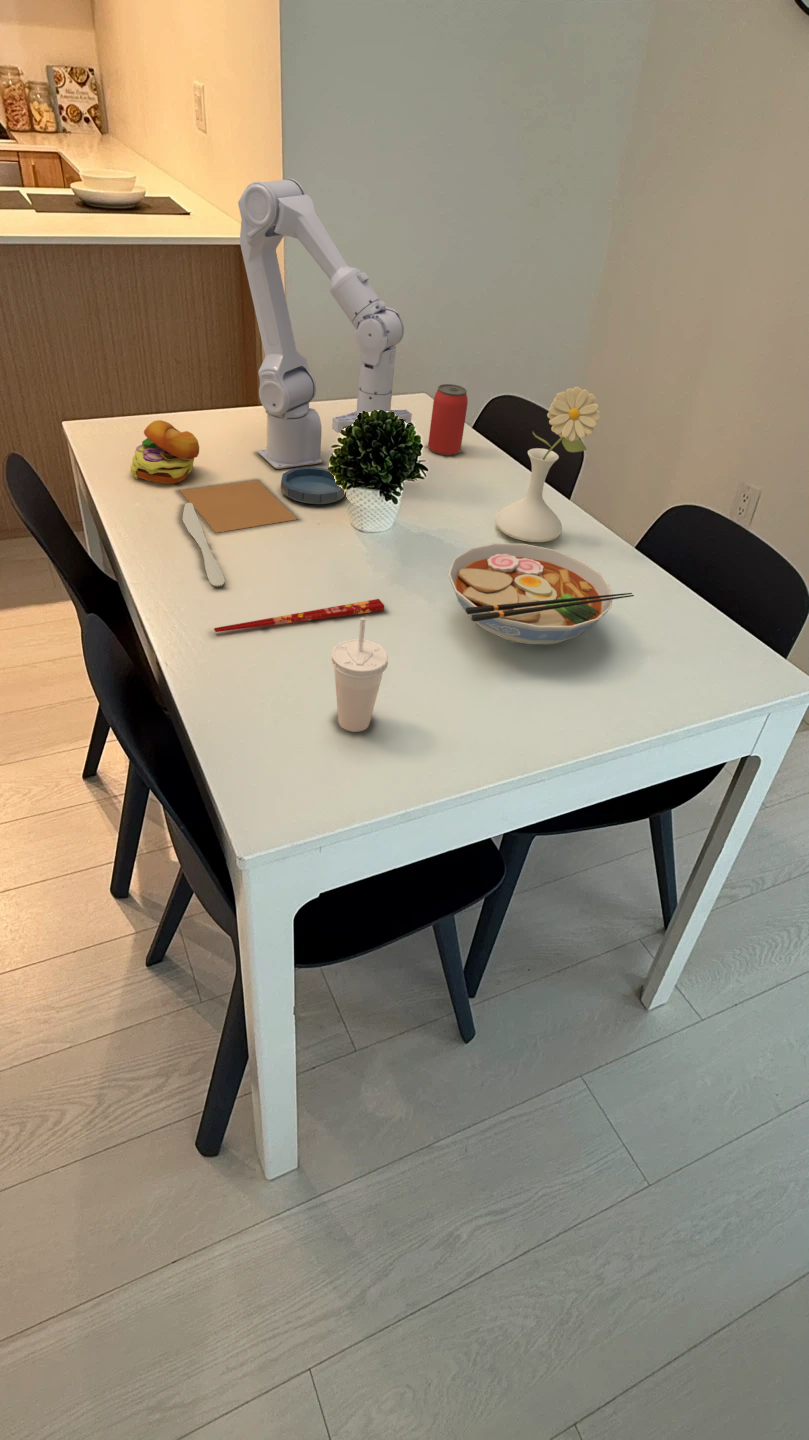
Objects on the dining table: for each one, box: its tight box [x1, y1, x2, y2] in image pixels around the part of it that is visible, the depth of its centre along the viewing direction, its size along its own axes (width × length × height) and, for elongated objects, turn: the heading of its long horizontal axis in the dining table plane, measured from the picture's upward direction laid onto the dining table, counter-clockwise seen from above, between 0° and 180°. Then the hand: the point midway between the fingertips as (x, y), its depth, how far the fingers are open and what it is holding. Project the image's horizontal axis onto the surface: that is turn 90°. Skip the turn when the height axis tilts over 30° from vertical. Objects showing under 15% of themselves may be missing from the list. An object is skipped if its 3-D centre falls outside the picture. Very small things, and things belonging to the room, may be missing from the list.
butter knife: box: [182, 502, 226, 587], centre depth 132 cm, size 1×27×3 cm
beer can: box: [427, 383, 469, 456], centre depth 169 cm, size 7×7×12 cm
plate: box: [280, 466, 345, 505], centre depth 149 cm, size 11×11×2 cm
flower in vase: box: [494, 386, 601, 543], centre depth 139 cm, size 13×11×25 cm
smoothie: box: [330, 616, 389, 733], centre depth 98 cm, size 6×6×14 cm
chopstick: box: [213, 598, 385, 633], centre depth 118 cm, size 2×24×1 cm, turn 116°
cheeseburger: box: [130, 419, 200, 485], centre depth 148 cm, size 10×11×10 cm
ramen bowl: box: [447, 542, 635, 645], centre depth 120 cm, size 25×23×8 cm
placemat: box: [179, 479, 298, 534], centre depth 144 cm, size 14×16×1 cm
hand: (368, 467), depth 153 cm, fingers closed
